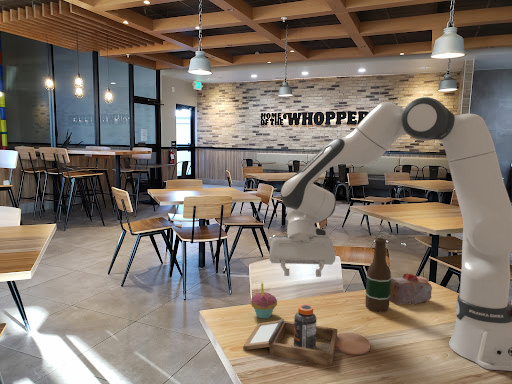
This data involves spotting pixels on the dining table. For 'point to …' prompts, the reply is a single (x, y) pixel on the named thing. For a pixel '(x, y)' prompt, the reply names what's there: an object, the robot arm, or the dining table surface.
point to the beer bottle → (378, 280)
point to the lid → (260, 335)
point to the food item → (410, 289)
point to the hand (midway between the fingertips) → (302, 275)
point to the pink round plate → (352, 343)
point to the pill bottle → (305, 327)
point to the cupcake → (263, 304)
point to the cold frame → (302, 352)
